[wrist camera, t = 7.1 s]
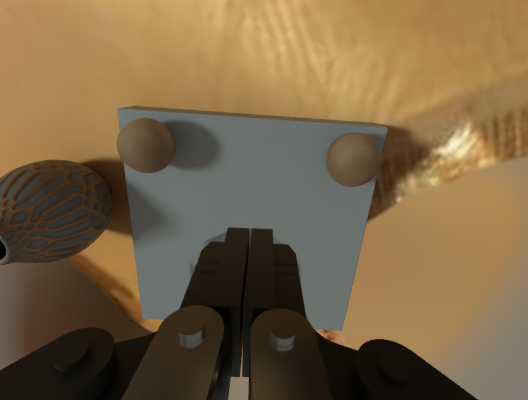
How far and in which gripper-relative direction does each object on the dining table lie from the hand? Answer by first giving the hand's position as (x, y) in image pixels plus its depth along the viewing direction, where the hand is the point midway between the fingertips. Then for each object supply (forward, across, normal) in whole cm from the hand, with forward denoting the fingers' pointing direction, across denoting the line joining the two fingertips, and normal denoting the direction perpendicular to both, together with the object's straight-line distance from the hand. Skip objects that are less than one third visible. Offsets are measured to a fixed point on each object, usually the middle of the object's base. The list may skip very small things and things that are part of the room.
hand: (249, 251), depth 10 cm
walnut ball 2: (+9, -6, -1) cm, 11 cm away
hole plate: (+13, +1, +6) cm, 15 cm away
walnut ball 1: (+9, +7, -1) cm, 12 cm away
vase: (+14, +14, +4) cm, 20 cm away
